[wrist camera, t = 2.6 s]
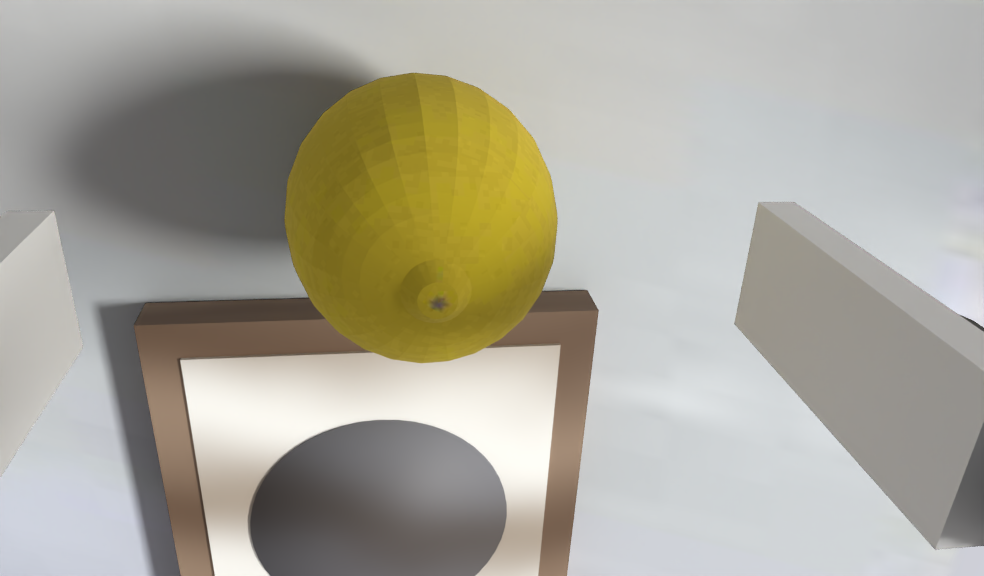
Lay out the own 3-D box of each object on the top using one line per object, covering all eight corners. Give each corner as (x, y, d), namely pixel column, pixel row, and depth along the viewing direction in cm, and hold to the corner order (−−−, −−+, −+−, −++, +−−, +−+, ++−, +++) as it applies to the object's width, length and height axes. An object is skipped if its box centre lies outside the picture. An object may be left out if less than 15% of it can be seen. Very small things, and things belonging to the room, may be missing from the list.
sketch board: (145, 303, 21) (131, 329, 19) (587, 290, 22) (600, 313, 21) (209, 661, 27) (201, 698, 26) (549, 629, 29) (557, 662, 27)
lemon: (292, 242, 20) (254, 429, 13) (309, 24, 18) (275, 112, 11) (497, 264, 22) (562, 447, 15) (539, 62, 19) (641, 164, 12)
